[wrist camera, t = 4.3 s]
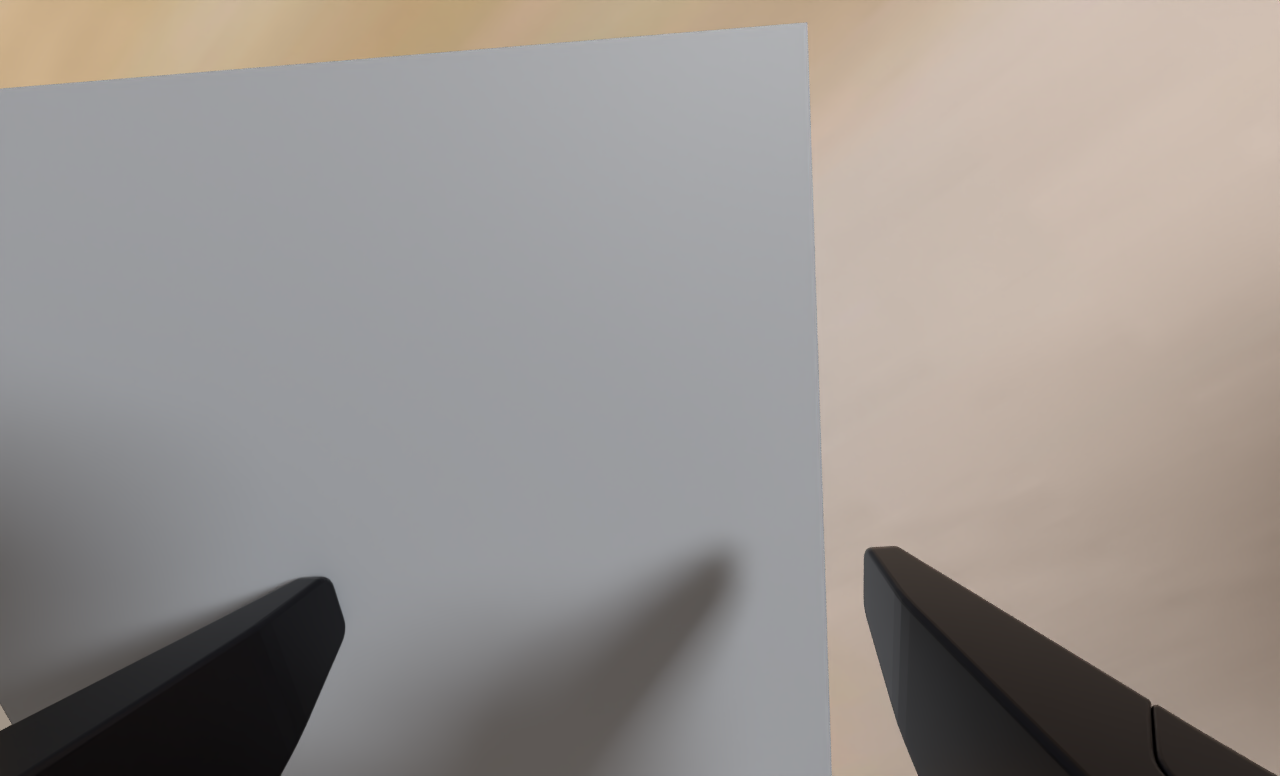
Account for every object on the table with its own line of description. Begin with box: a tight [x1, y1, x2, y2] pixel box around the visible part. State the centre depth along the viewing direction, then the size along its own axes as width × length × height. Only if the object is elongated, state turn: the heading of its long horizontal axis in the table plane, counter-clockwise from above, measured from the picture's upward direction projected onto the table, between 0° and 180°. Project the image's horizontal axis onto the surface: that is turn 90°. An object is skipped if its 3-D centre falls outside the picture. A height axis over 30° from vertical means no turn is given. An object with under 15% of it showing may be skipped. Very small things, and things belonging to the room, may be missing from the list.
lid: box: [0, 23, 832, 776], centre depth 10 cm, size 12×14×1 cm
